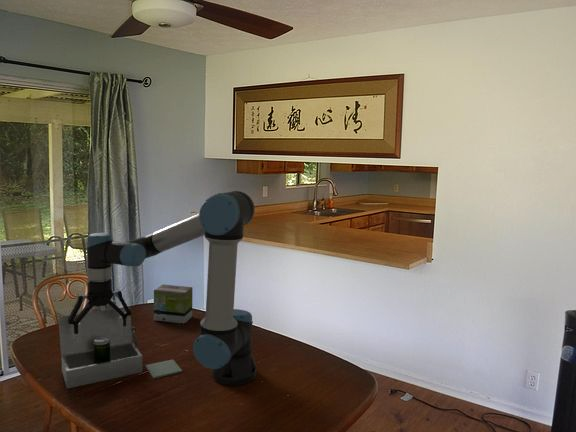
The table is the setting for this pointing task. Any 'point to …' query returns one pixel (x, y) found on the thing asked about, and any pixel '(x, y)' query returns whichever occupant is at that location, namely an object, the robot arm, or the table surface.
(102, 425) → the table surface
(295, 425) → the table surface
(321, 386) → the table surface
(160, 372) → the pad
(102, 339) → the beer can
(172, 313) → the tea box
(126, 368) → the case
